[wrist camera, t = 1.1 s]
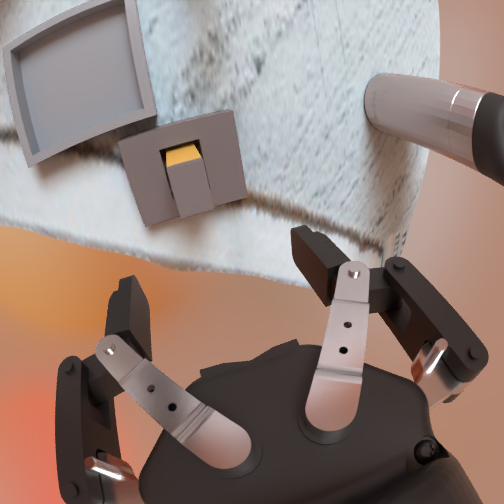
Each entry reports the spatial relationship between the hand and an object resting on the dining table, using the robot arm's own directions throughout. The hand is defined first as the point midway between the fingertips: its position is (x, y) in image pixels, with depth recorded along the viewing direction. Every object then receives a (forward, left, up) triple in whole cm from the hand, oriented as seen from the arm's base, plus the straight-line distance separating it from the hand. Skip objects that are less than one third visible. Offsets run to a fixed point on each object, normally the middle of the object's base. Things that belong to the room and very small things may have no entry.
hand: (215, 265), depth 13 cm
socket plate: (0, 0, -20) cm, 20 cm away
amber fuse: (0, 0, -20) cm, 20 cm away
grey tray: (+9, -14, -20) cm, 26 cm away
